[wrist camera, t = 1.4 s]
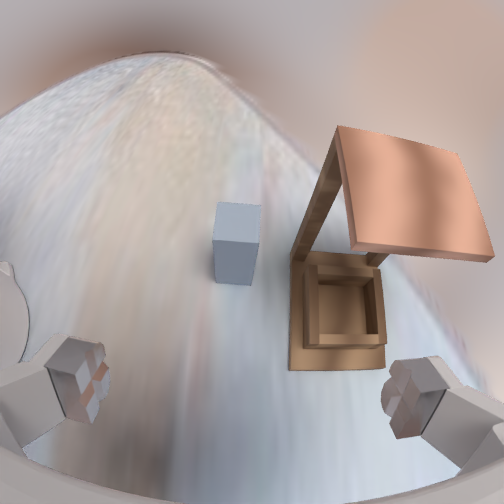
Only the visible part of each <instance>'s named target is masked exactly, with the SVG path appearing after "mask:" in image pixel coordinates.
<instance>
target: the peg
mask: <svg viewBox="0 0 504 504" xmlns="http://www.w3.org/2000/svg"><path fill="white" fill-rule="evenodd" d="M260 214H261V205H252V204H240V203H226V202H217V209H216V217H215V224H214V232H213V252H214V265H215V278H216V283H224V284H237V285H250V286H251V283H252V278H253V273H254V268H255V263H256V257H257V252H258V247H259V237H260Z"/></svg>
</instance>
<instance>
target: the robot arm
mask: <svg viewBox="0 0 504 504" xmlns="http://www.w3.org/2000/svg"><path fill="white" fill-rule="evenodd" d="M28 330H29V315H28V308H27V304H26V300H25V298H24V295H23V293H22V292H21V290H20V288H19V287H18V285H17V284H16V282H15V279H14V272H13V268H12V265H11V264H9V263H8V262H6V261H1V262H0V504H185V503H178V502H171V501H165V500H159V499H154V498H149V497H144V496H139V495H135V494H131V493H126V492H122V491H118V490H115V489H111V488H107V487H104V486H100V485H97V484H94V483H90V482H87V481H84V480H81V479H78V478H75V477H72V476H69V475H67V474H64V473H61V472H59V471H56V470H53V469H51V468H48V467H46V466H44V465H41V464H39V463H37V462H34V461H32V460H30V459H28V458H27V456H26V454H25V453H24V451H23V450H22V448H23V447H24V446H26V445H27V444H29V443H31V442H32V441H34V440H35V439H37V438H38V437H40V436H41V435H43V434H44V433H46V432H47V431H49V430H50V429H52V428H53V427H55V426H56V425H58V424H59V423H61V422H62V421H64V420H65V419H66V418H69V419H72V420H76V421H80V422H84V423H88V424H92V423H93V421H94V419H95V417H96V415H97V413H98V411H99V409H100V408H99V404H98V402H99V401H101V400H103V399H105V397H106V395H107V393H108V391H109V386H110V372H109V368H108V367H107V365H106V364H105V363H104V362H103V359H104V358H105V356H106V353H105V349H104V345H103V344H102V343H100V342H96V341H91V340H86V339H82V338H77V337H73V336H68V335H64V334H59V333H57V334H54V335H53V336H52V337H51V338H50V339H49V340H48V341H47V342H46V343H45V344H44V345H43V346H42V348H41V349H40V350H39V351H38V352H37V353H36V354H35V355H34V356H33V357H32V359H31V360H30V361H29V362H26V361H23V362H20V363H18V362H19V360H20V359H21V357H22V354H23V352H24V349H25V346H26V342H27V337H28ZM389 373H390V375H391V378H390V379H389V380H387V381H386V382H385V383H384V386H383V389H382V392H381V404H382V408H383V410H384V413H385V414H387V415H388V416H390V417H391V420H390V423H389V424H390V426H391V428H392V430H393V433H394V435H395V437H396V439H401V438H408V437H414V436H420V435H421V437H422V438H423V439H424V440H426V441H427V442H428V443H429V444H430V445H432V446H433V447H434V448H435V449H437V450H438V451H439V452H440V453H442V454H443V455H444V456H445V457H447V458H448V459H449V460H450V461H452V462H453V463H454V464H456V465H457V466H458V467H459V468H461V470H460V471H459V472H458V473H457V475H456V476H455V477H454V478H451V479H448V480H445V481H442V482H439V483H435V484H432V485H429V486H425V487H422V488H418V489H415V490H411V491H407V492H403V493H399V494H394V495H390V496H385V497H381V498H375V499H370V500H364V501H358V502H352V503H345V504H504V403H502V402H500V401H498V400H496V399H494V398H492V397H490V396H488V395H486V394H484V393H482V392H480V391H478V390H476V389H474V388H472V387H469V386H463V384H462V383H461V382H460V381H459V379H458V378H457V377H456V376H455V374H454V373H453V372H452V370H451V369H450V368H449V367H448V365H447V364H446V363H445V362H444V361H443V359H442V358H441V357H439V356H430V357H423V358H417V359H404V360H395V361H394V362H393V363H392V365H391V367H390V370H389Z"/></svg>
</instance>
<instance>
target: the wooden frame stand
mask: <svg viewBox="0 0 504 504" xmlns="http://www.w3.org/2000/svg"><path fill="white" fill-rule="evenodd" d="M342 184H343V191H344V198H345V205H346V212H347V220H348V228H349V236H350V245H351V250H353V251H365V252H368V253H367V254H366V255H355V254H342V253H330V252H318V251H310V249H311V247H312V245H313V243H314V241H315V239H316V237H317V235H318V233H319V231H320V229H321V227H322V225H323V223H324V221H325V219H326V217H327V215H328V212H329V210H330V208H331V206H332V204H333V202H334V200H335V198H336V196H337V193H338V191H339V189H340V187H341V185H342ZM389 254H399V255H410V256H421V257H433V258H443V259H454V260H464V261H475V262H485V263H487V262H488V261H489V260H491V259H492V258H493V257H495V255H494V251H493V248H492V244H491V241H490V238H489V235H488V231H487V228H486V225H485V222H484V219H483V216H482V213H481V210H480V207H479V205H478V202H477V199H476V197H475V194H474V192H473V189H472V186H471V184H470V181H469V179H468V177H467V174H466V172H465V169H464V167H463V165H462V163H461V160H460V158H459V156H458V154H457V153H453V152H450V151H447V150H443V149H440V148H436V147H433V146H429V145H425V144H422V143H418V142H414V141H410V140H406V139H401V138H397V137H393V136H389V135H385V134H380V133H375V132H370V131H365V130H360V129H355V128H349V127H343V126H337V128H336V131H335V134H334V137H333V140H332V142H331V145H330V148H329V151H328V154H327V156H326V159H325V162H324V165H323V167H322V170H321V173H320V176H319V178H318V181H317V184H316V186H315V189H314V192H313V195H312V197H311V200H310V203H309V205H308V208H307V211H306V213H305V216H304V218H303V221H302V224H301V226H300V229H299V231H298V234H297V237H296V239H295V242H294V244H293V247H292V249H291V252H290V344H289V370H290V371H343V370H371V369H383V368H386V366H385V344H387V334H386V320H385V309H384V298H383V289H382V280H381V272H380V269H378V268H377V267H378V266H379V265H380V264H381V263H382V262H383V261H384V260H385V259H386V257H387V256H388V255H389Z"/></svg>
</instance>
